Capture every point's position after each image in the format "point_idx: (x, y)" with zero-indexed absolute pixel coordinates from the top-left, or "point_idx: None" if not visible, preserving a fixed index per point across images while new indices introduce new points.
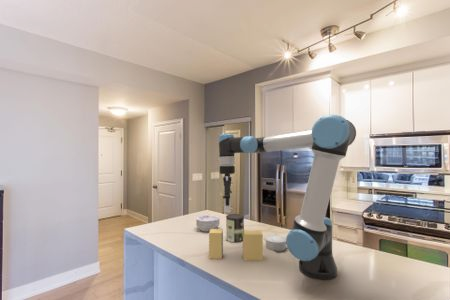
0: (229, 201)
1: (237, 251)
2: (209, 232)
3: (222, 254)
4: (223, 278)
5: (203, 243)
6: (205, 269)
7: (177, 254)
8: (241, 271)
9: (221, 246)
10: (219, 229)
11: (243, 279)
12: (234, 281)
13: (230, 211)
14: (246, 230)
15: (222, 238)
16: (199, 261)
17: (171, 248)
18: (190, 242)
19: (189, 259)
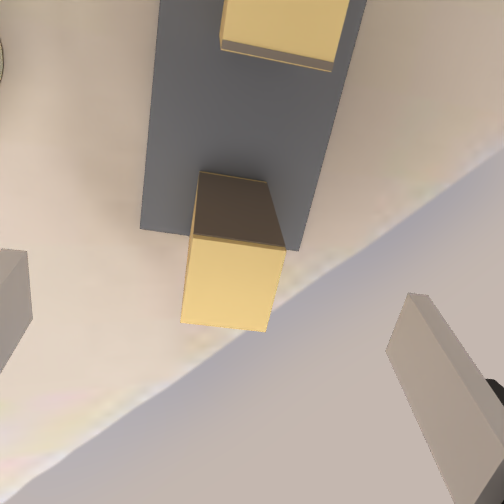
0: (495, 414)
1: (141, 61)
2: (259, 329)
3: (229, 177)
4: (443, 185)
5: None
6: (342, 258)
7: (171, 375)
8: (407, 85)
9: (274, 211)
10: (196, 262)
11: (484, 90)
12: (485, 138)
13: (433, 303)
14: (229, 10)
15: (230, 216)
16: None
17: (100, 405)
18: None
19: None
